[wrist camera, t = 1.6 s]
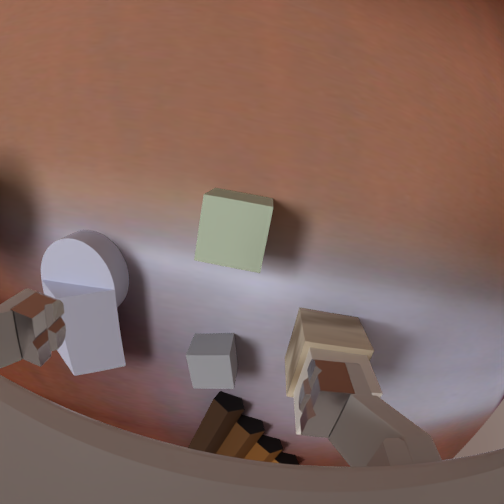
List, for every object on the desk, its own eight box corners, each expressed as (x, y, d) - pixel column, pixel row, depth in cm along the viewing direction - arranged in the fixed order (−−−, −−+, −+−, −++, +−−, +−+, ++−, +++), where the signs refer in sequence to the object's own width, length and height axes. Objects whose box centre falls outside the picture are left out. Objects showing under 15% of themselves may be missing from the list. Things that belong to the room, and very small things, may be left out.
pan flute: (216, 386, 34) (168, 479, 41) (212, 406, 31) (163, 494, 38) (391, 433, 35) (304, 511, 43) (397, 451, 32) (304, 526, 39)
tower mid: (309, 347, 24) (316, 387, 20) (366, 355, 24) (382, 393, 20) (293, 392, 26) (296, 434, 21) (346, 398, 26) (356, 438, 21)
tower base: (299, 307, 30) (305, 341, 24) (357, 317, 30) (373, 350, 24) (284, 358, 32) (286, 396, 26) (339, 365, 32) (349, 402, 26)
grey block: (195, 333, 32) (185, 355, 28) (234, 332, 31) (229, 355, 27) (201, 364, 33) (193, 388, 29) (238, 364, 32) (234, 388, 28)
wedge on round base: (137, 348, 33) (126, 232, 29) (113, 385, 26) (91, 252, 22) (71, 335, 33) (54, 228, 29) (41, 365, 26) (14, 245, 23)
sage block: (215, 187, 27) (203, 194, 22) (272, 198, 27) (273, 207, 22) (206, 242, 29) (194, 260, 24) (261, 253, 29) (260, 273, 24)
